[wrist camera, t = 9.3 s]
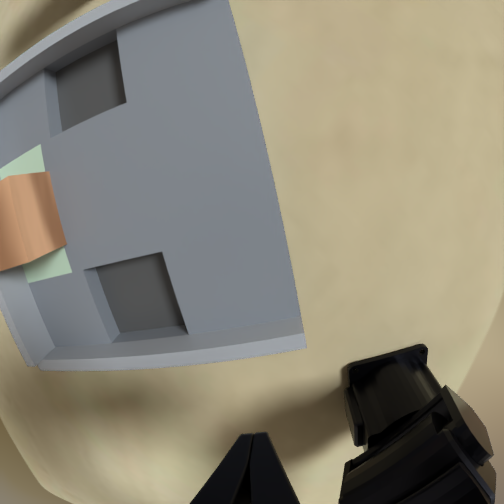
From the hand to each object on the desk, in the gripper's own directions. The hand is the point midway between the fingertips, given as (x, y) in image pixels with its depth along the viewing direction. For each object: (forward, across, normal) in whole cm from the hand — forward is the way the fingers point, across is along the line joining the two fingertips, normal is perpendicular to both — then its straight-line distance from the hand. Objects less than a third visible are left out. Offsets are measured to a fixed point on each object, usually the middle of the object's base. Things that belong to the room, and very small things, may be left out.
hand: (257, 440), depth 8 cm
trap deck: (+12, +8, -9) cm, 17 cm away
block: (+10, +14, -9) cm, 19 cm away
